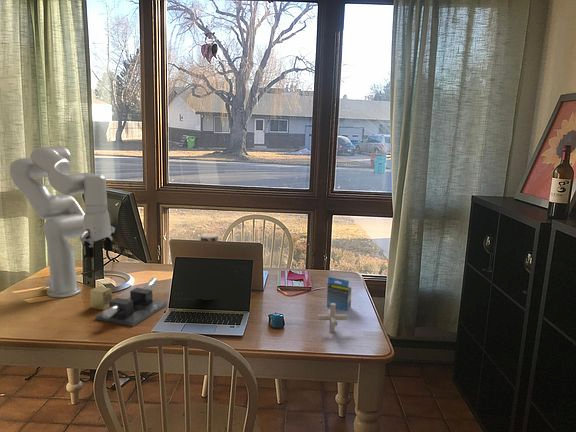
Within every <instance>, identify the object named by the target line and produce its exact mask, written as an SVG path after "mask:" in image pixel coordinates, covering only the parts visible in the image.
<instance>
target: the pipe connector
mask: <svg viewBox="0 0 576 432" xmlns="http://www.w3.org/2000/svg"><path fill="white" fill-rule="evenodd" d="M336 309H337V308H336V304H335V303H331V304H330V307H329V309H328V310H327V314H318V315H317V321H329V328H328V329H329V330H328V331H329V333H335V331H336V329H335V328H336V327H338V321H348V314H336Z"/></svg>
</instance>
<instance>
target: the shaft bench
mask: <svg viewBox="0 0 576 432" xmlns="http://www.w3.org/2000/svg"><path fill="white" fill-rule="evenodd" d="M158 284H159V280H158V279H157V278H156V277H151V279H150V280H149V281H148V282H147V283H146V284H145V286H143V288H140V287H136V288H134V289H131V290H130V291H129V292H130V296H129V297H127V298H126V299H125V298H119V297H115V298H114V299H113V298H112V300H111V301H110V302H109V305H110V307H109V308H107V309H105V310H102V311H100V312H99V313H97V314H95V319H96V320H99V321H104V322H108V323H109V322H110V323H114V324H119V325H124V326H129V327H134V326H136V325H137V324H139V323H141V322H142V321H144V320H146V319H147V318H149V317H151V316H153V315H154V314H155V313H157V312H158V311H161V310H162V309H164V308H165V307H167V302H166V301H160V300H155V299H154V298H153V290H154V288H155V287H156V286H157V285H158ZM134 309H136V311H134ZM137 309H138V310H137Z"/></svg>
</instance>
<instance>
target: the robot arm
mask: <svg viewBox="0 0 576 432" xmlns="http://www.w3.org/2000/svg"><path fill="white" fill-rule="evenodd" d="M71 162H72V154H71V152H70V151H69V150H68V149H67V147H65V146H61V145H57V146H56V145H55V146H39V147H36V148H33V149H32V151H31V153H30V157H22V158H17V159H15V160H13V161H12V162H11V163H10V166H9V174H10V177H11V180H12V182H13V184H14V185H15V187H16V188H17V189H18V191H20V192H21V193H22V194H23V196H25V198H26V199H27V201H28V202H29V204H30V206H31V208H32V209H33V211H34V213H35V214H36V215H37V216H38V218H39V219H41V220H42V221H43V220H44V221H45V222H44V223H43V226H42V227H43V228H42V230H43V234H44V238H45V242H46V246H47V257H48V267H49V279H47V281H46V282H45V283H44V285H45V286H47V287H49V289H48V290H47V291H46V294H47V296H48V297H52V298H68V297H71V296H75V295H77V294H80V293H81V291H82V287H81V286H80V285H78V283H77V273H76V271H77V270H76V258H75V257H76V256H75V255H76V254H75V249H74V246H73V245H72V244H71V243H70V242H69V240H70V239H73V238H79V240H80V242H81V245H82V246H83V247H84V248H85V257H86V258H89V259H94V258H95V249H94V243H95V242H97V241H100V240H102V239H104V240H103V250H104V251H106V252H113V240H114V238H113V237H114V235H115V231H116V227H114V226H113V225H111V224H112V223H111V219H110V218H111V217H110V214H109V210H108V206H109V205H108V195H107V180H106V177H105V176H104V175H102V174H95V173H93V172H77V173H70V172H71ZM39 178H48V182H49V184H50V187H51V188H52V189H53V190H55V191H57V192H58V193H59V194H57V195H56V194H52V193H51V192H50V191H49V188H48V187H47V186H46V185H45V184H44V183H42V182H40V181H39V180H36V179H39ZM79 194H84V208H85V209H84V210H85V212H84V210H83V209H82V207H81V206H80V204H79V202H78V201H77V200H76V199H75V198H74V197H73V196H72V195H79Z"/></svg>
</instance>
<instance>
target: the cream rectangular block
mask: <svg viewBox="0 0 576 432" xmlns="http://www.w3.org/2000/svg"><path fill="white" fill-rule="evenodd" d="M89 295H90V308H91V309H98V310H102V311H104V310H106V309H108V308H110V305H109V302H110V301H111V300H113V297H112V296H113V295H112V288H110V287H104V286H99V285H98V286H96V287H94V288H90V290H89Z"/></svg>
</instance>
